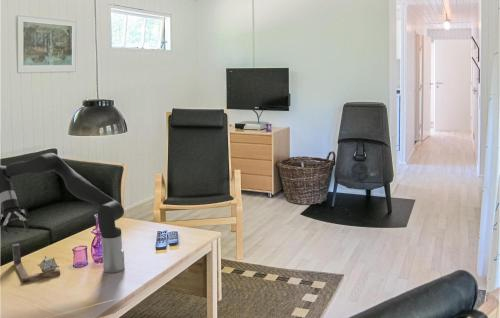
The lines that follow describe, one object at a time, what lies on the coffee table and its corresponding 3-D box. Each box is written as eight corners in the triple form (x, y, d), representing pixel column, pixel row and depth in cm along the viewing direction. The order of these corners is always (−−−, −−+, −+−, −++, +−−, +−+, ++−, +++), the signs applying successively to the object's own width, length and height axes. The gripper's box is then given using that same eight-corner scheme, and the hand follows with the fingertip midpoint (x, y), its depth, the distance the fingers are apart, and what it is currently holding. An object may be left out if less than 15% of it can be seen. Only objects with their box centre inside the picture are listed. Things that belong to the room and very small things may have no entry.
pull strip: (47, 257, 251) (46, 238, 249) (60, 274, 230) (58, 254, 228) (13, 264, 242) (11, 244, 241) (23, 283, 221) (21, 261, 219)
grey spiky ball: (48, 282, 230) (38, 272, 223) (41, 271, 236) (31, 260, 228) (65, 270, 234) (55, 259, 226) (57, 259, 239) (48, 248, 231)
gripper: (-7, 201, 241) (0, 232, 237) (24, 195, 249) (32, 224, 244) (-7, 207, 247) (1, 236, 243) (24, 200, 255) (31, 229, 250)
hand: (16, 230), depth 244 cm, fingers open, 8 cm apart
